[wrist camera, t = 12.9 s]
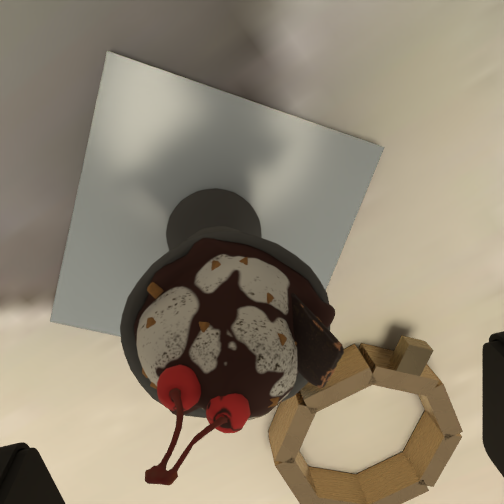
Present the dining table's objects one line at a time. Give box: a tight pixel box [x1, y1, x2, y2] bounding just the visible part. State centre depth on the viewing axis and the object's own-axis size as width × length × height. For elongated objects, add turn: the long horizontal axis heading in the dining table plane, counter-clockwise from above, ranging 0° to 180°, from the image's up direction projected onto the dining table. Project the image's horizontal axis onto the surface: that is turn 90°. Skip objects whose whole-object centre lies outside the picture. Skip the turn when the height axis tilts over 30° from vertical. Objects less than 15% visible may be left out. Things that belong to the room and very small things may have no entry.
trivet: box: [50, 51, 384, 337], centre depth 24 cm, size 14×14×1 cm
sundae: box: [120, 188, 344, 485], centre depth 17 cm, size 7×7×15 cm
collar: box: [268, 336, 463, 504], centre depth 29 cm, size 15×11×2 cm
